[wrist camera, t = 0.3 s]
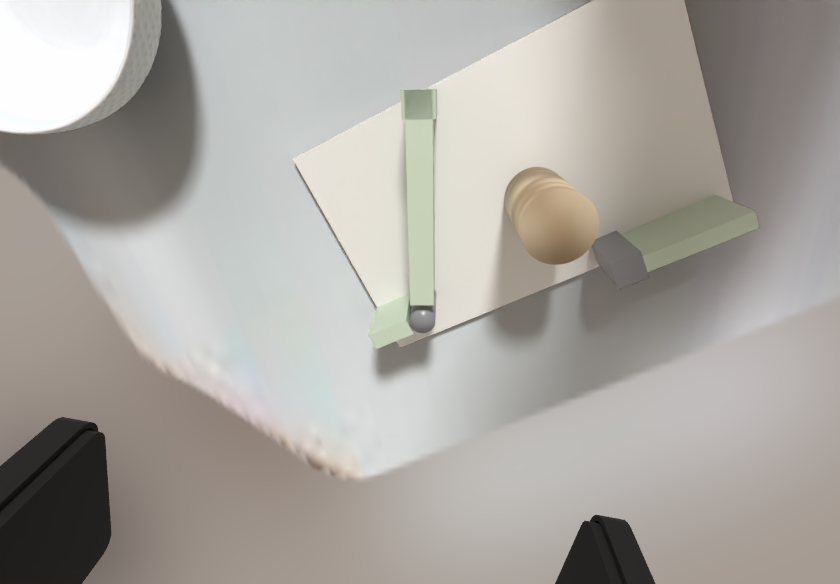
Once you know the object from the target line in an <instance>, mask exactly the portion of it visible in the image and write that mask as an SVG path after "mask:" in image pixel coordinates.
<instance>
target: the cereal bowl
mask: <svg viewBox="0 0 840 584" xmlns="http://www.w3.org/2000/svg"><path fill="white" fill-rule="evenodd" d="M161 10H162V5H161V0H0V132H4V133H11V134H27V135H36V134H50V133H61V132H64V131H72V130H74V129H77V128H83V127H85V126H87V125H90V124H94V123H96V122H98V121H100V120H102V119H105V118H106V117H108V116H110V115H111V114H112V113H114V112H116V111H118V109H119V108H121V107H122V106H124V105H125V104H126V103H127V102H128V101H129V100H130V99H131V98H132V96H134V95H135V94H136V92H137V91H138V90H139V88H140V87H141V85H142V84H143V83H144V80H145V78H146V77H147V75H148V74H149V71H150V69H151V68H152V63H153V62H154V60H155V56H156V54H157V48H158V46H159V38H160V36H161V32H160V30H161V27H162V26H161V18H162V16H161Z"/></svg>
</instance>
